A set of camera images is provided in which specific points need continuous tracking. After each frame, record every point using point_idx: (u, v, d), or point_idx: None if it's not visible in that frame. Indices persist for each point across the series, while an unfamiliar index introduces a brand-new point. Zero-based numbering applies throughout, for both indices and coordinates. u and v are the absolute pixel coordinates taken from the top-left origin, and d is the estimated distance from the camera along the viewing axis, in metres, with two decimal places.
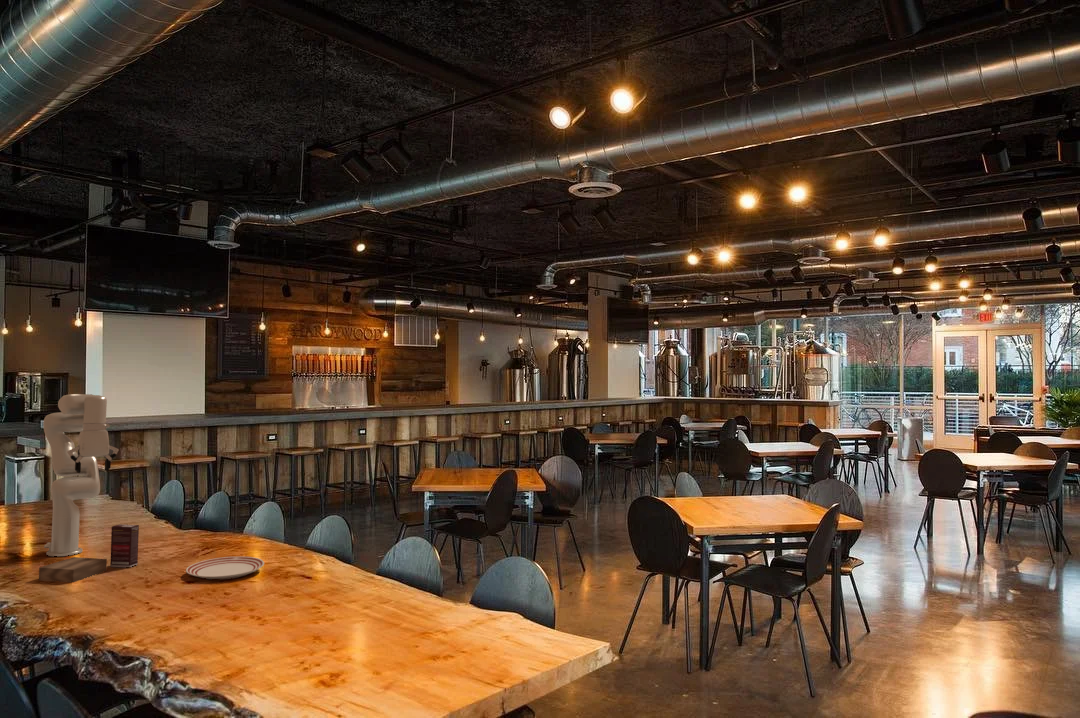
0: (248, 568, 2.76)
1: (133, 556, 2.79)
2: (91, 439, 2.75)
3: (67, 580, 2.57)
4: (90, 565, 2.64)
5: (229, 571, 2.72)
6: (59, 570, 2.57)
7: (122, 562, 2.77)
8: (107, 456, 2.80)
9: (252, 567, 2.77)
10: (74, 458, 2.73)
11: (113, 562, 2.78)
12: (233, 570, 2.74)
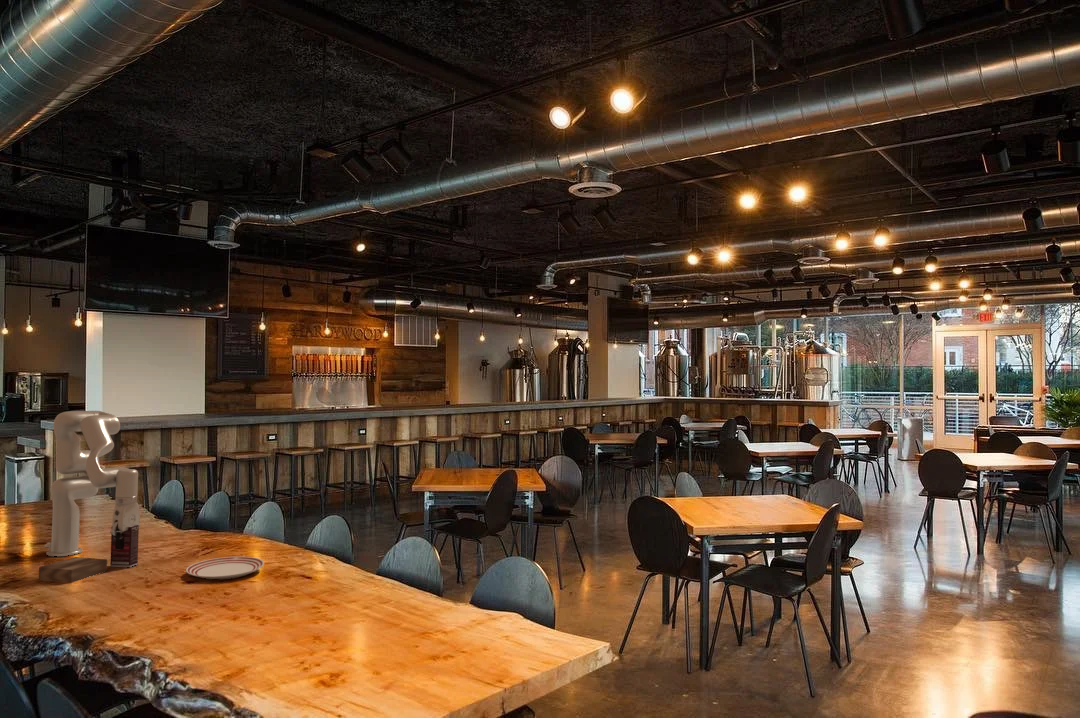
0: (248, 568, 2.76)
1: (133, 556, 2.79)
2: None
3: (65, 580, 2.57)
4: (89, 565, 2.64)
5: (229, 571, 2.72)
6: (58, 570, 2.57)
7: (122, 562, 2.77)
8: None
9: (252, 567, 2.77)
10: None
11: (113, 562, 2.78)
12: (233, 570, 2.74)
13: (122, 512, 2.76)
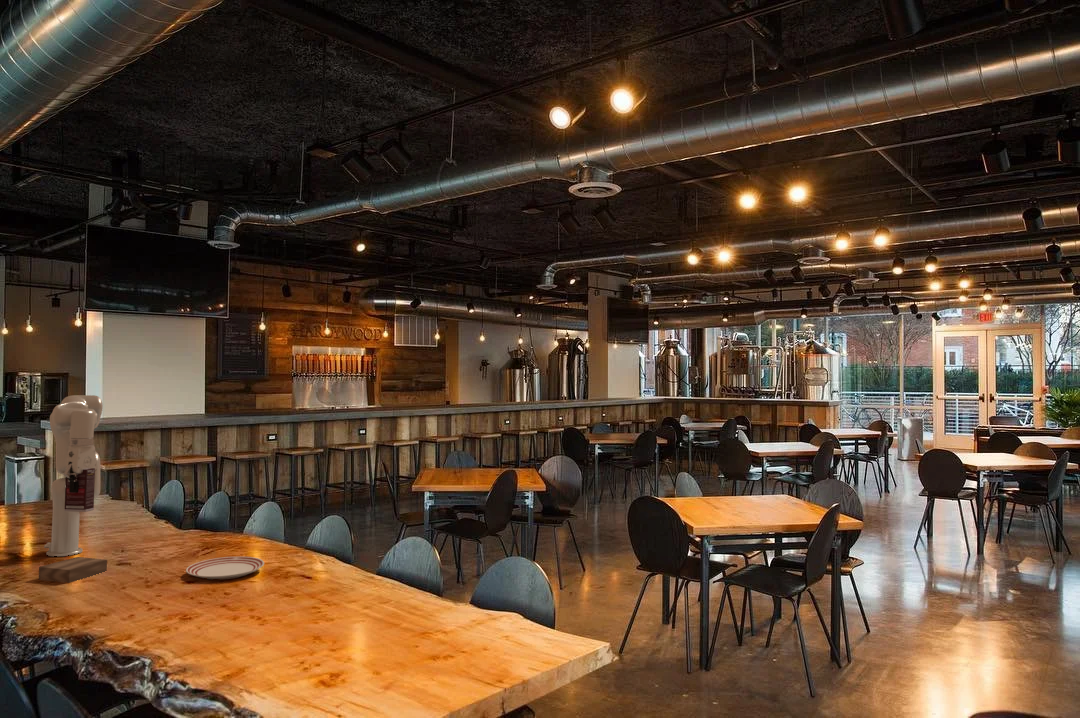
0: (248, 568, 2.76)
1: (89, 500, 2.66)
2: None
3: (64, 580, 2.56)
4: (88, 565, 2.64)
5: (229, 571, 2.72)
6: (57, 570, 2.57)
7: (77, 506, 2.65)
8: None
9: (252, 567, 2.77)
10: None
11: (67, 506, 2.65)
12: (233, 570, 2.74)
13: (76, 453, 2.63)
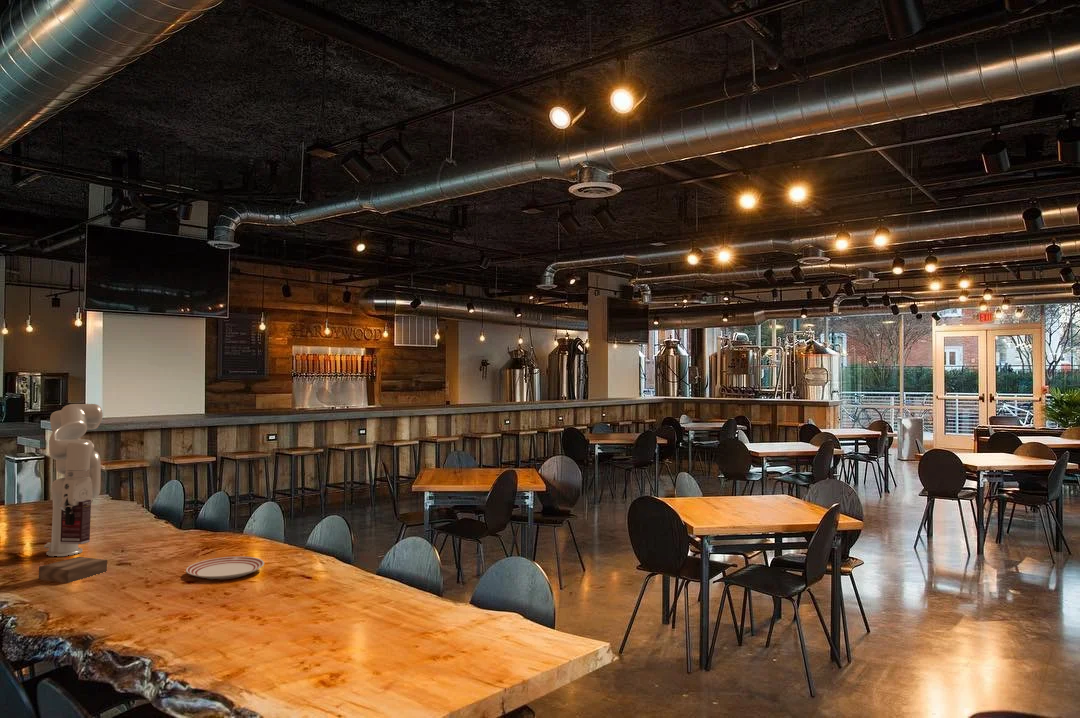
0: (248, 568, 2.76)
1: (85, 532, 2.65)
2: None
3: (63, 580, 2.56)
4: (88, 566, 2.63)
5: (229, 571, 2.72)
6: (56, 570, 2.57)
7: (72, 539, 2.63)
8: None
9: (252, 567, 2.77)
10: None
11: (63, 538, 2.64)
12: (233, 570, 2.74)
13: (72, 486, 2.62)
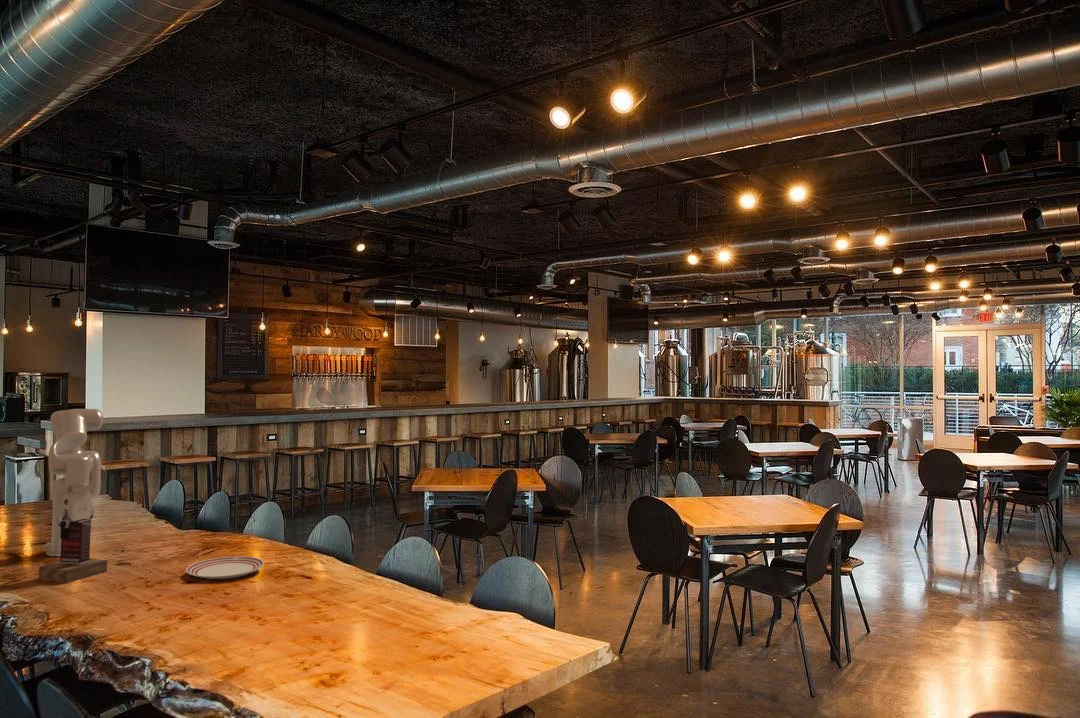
0: (248, 568, 2.76)
1: (84, 553, 2.65)
2: None
3: (62, 581, 2.56)
4: (87, 566, 2.63)
5: (229, 571, 2.72)
6: (55, 570, 2.57)
7: (72, 559, 2.63)
8: None
9: (252, 567, 2.77)
10: None
11: (63, 558, 2.64)
12: (233, 570, 2.74)
13: (71, 501, 2.62)
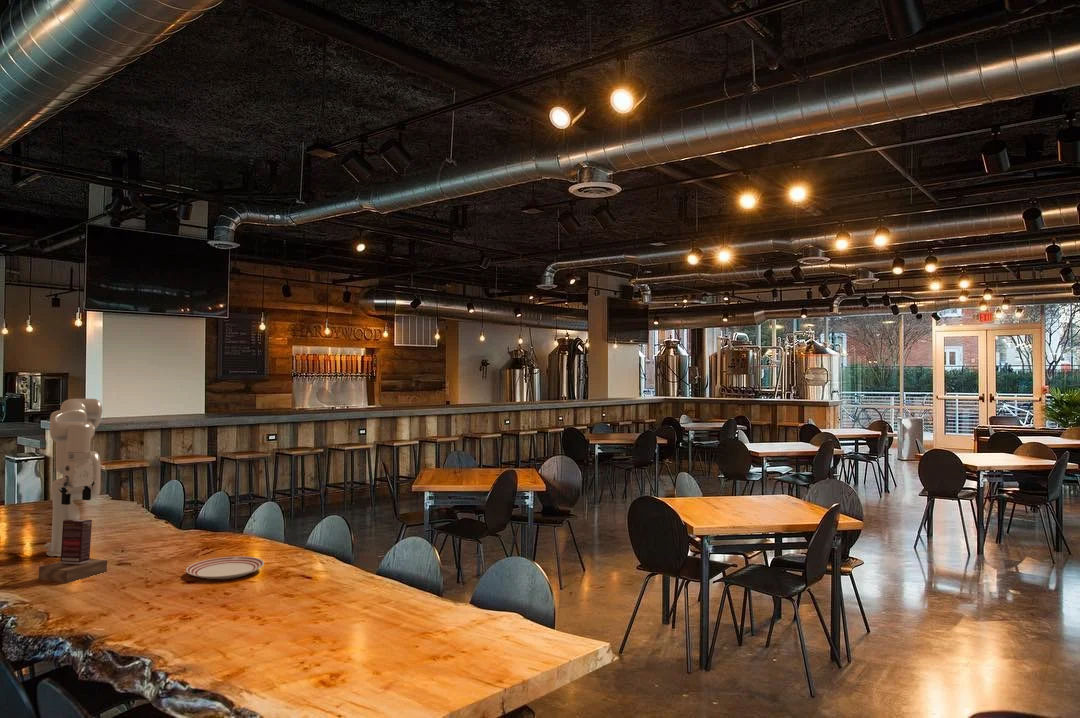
0: (248, 568, 2.76)
1: (84, 552, 2.65)
2: None
3: (62, 581, 2.56)
4: (87, 566, 2.63)
5: (229, 571, 2.72)
6: (55, 570, 2.57)
7: (72, 559, 2.63)
8: None
9: (252, 567, 2.77)
10: None
11: (63, 558, 2.64)
12: (233, 570, 2.74)
13: (73, 467, 2.62)
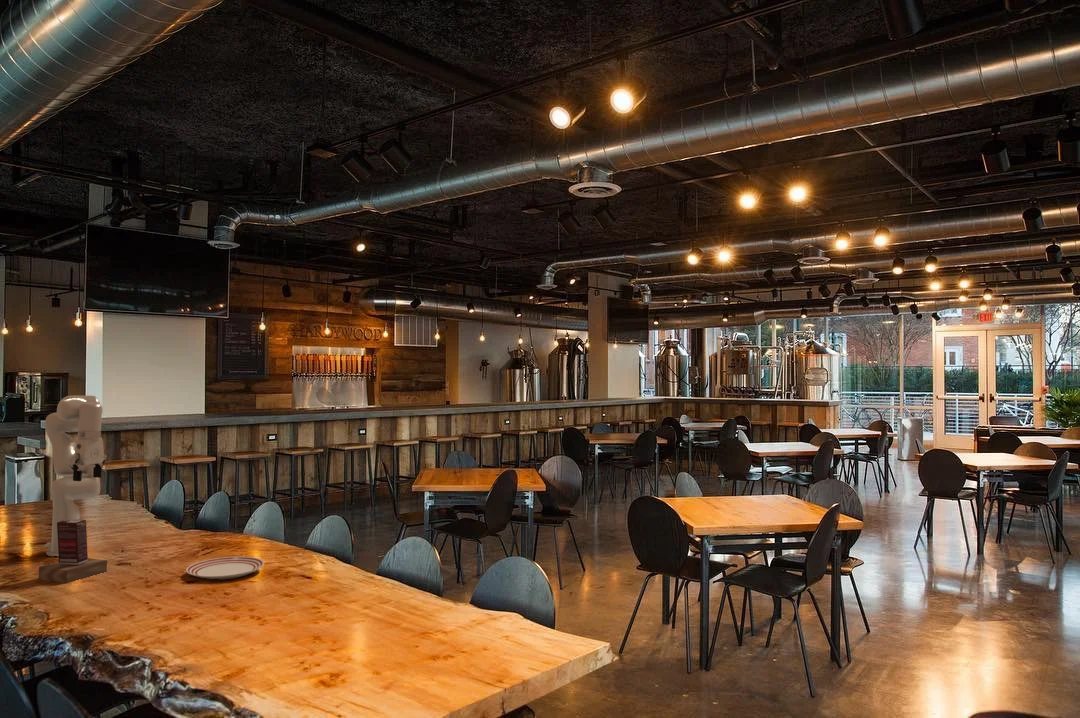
0: (248, 568, 2.76)
1: (81, 552, 2.64)
2: None
3: (62, 581, 2.56)
4: (87, 566, 2.63)
5: (229, 571, 2.72)
6: (55, 570, 2.57)
7: (70, 560, 2.63)
8: None
9: (252, 567, 2.77)
10: None
11: (61, 559, 2.63)
12: (233, 570, 2.74)
13: (84, 445, 2.71)
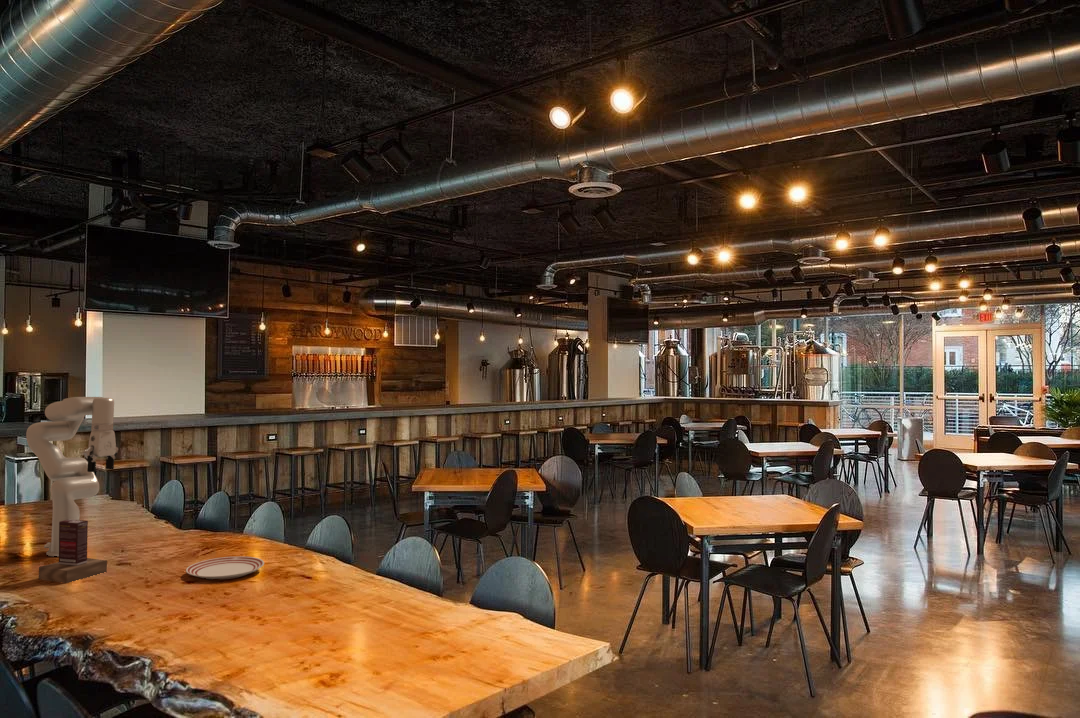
0: (248, 568, 2.76)
1: (81, 553, 2.64)
2: None
3: (61, 581, 2.56)
4: (87, 566, 2.63)
5: (229, 571, 2.72)
6: (55, 570, 2.57)
7: (69, 560, 2.63)
8: None
9: (252, 567, 2.77)
10: None
11: (61, 559, 2.63)
12: (233, 570, 2.74)
13: (98, 438, 2.84)
